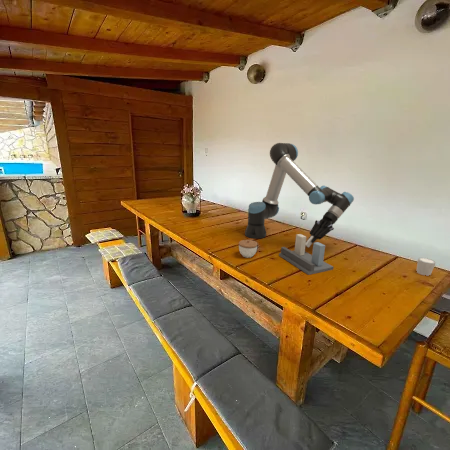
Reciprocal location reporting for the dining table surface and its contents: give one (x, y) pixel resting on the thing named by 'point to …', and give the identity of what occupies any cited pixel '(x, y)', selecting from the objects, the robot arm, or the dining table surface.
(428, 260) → the beige cylinder
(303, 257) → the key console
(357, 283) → the dining table surface
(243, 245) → the lidded jar
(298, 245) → the cream key
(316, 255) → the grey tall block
